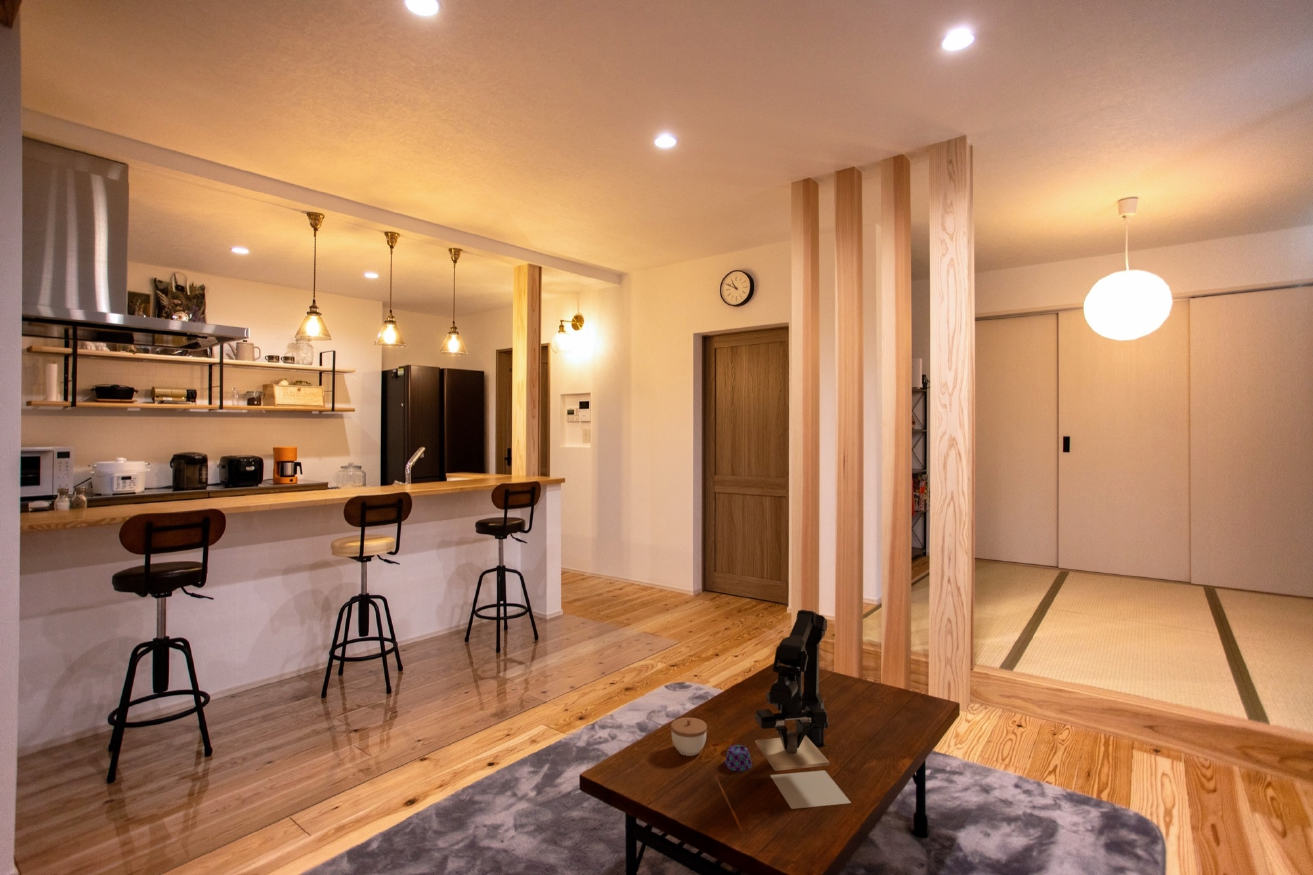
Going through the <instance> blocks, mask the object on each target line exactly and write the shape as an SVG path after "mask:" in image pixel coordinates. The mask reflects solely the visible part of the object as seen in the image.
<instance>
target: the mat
mask: <svg viewBox="0 0 1313 875" xmlns="http://www.w3.org/2000/svg"><path fill="white" fill-rule="evenodd" d="M770 778H771V780H773V782H774V784H775V785H776V787H777V789H778V790H779V792H780V793H781V794H782V797H783V798H784V800H785V801H786V803H787V804H788V805H789V808H790V809H791V810H795V809H804V808H805V809H806V808H814V807H815V808H816V807H824V806H825V807H826V806H834V805H835V806H836V805H846V804H847V805H848V804H852V802H851V801H850V799H849V798H848V797H847V796H846V795H845V793H844V792H843V791H842V789H841V788H840V787H839V785H837V783H836V782H835V781H834V779H833V778H831V776H830V775H829V773H828V772H827V771H826V770H816V771H814V770H813V771H801V772H791V773H781V774H780V773H779V774H770Z"/></svg>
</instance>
